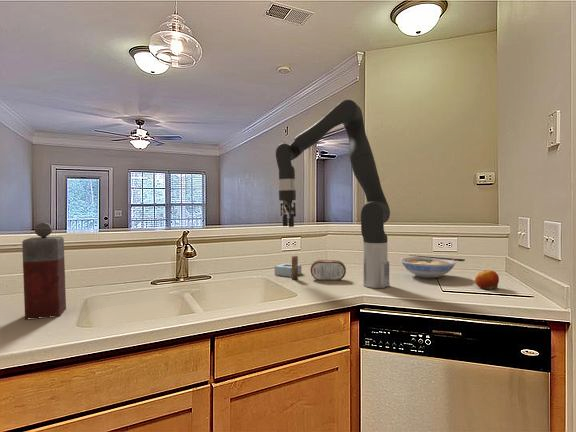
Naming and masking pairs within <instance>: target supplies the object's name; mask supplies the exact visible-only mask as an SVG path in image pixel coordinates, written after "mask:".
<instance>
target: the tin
mask: <svg viewBox="0 0 576 432" xmlns="http://www.w3.org/2000/svg"><path fill="white" fill-rule="evenodd" d="M346 272H347V269H346V265H345V264H344V263H343V262H342V261H340V260H335V259H334V260H331V259H329V260H327V259H325V260H324V259H317V260H315V261H313V263H312V264H311V266H310V274H311V277H313V279H314V280H317V281H332V282H333V281H335V282H336V281H341V280H342V279H343V278H344V277H346V276H345V275H346Z"/></svg>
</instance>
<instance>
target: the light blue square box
mask: <svg viewBox="0 0 576 432" xmlns="http://www.w3.org/2000/svg"><path fill="white" fill-rule="evenodd" d="M273 268H274V275H275V276H282V277H290V278H292V263H281V264H278V265H274V267H273ZM302 273H303V272H302V264H298V275H300V274H302Z"/></svg>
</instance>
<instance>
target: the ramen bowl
mask: <svg viewBox="0 0 576 432" xmlns="http://www.w3.org/2000/svg"><path fill="white" fill-rule="evenodd" d="M465 260H466V259H464V258H453V257H442V256H441V257H439V256H438V257H436V256H427V255H425V256H424V255H417V256H416V255H413V254H409V255H408V256H406V257H402V258H400V262H401V264H402V265H403V268H405V270H406V271H408V272H409V273H411V274H413V275H415V276H417V277H418V278H421V279H437V278H438V277H441V276H444V275H446V274H448V273H449V272H450V271H452V269H453V268H454V267H455V265H456V263H457V262H465Z"/></svg>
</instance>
